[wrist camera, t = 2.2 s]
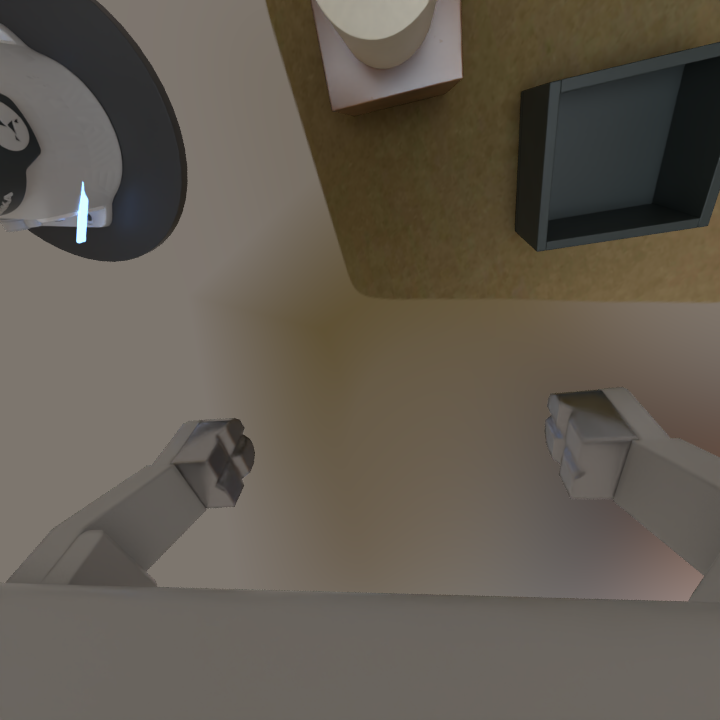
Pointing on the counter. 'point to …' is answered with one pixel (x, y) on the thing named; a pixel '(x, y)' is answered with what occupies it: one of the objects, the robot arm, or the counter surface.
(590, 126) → the bin
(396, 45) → the cream candle
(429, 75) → the brown rectangular block
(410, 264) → the counter surface
